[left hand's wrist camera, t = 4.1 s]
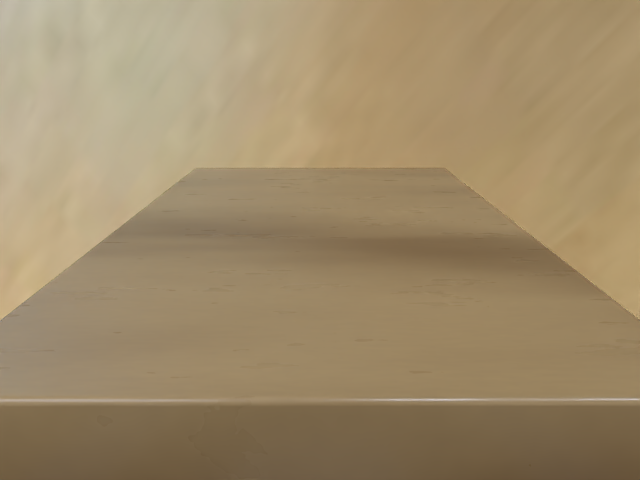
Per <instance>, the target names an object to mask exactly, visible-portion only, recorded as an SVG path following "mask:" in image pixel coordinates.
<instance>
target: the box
mask: <svg viewBox="0 0 640 480" xmlns="http://www.w3.org/2000/svg"><path fill="white" fill-rule="evenodd" d="M0 480H640V320H639V319H637V318H636V317H635V316H634V315H632V314H631V313H630V312H628V311H627V310H626V309H625V308H623V307H622V306H621V305H619V304H618V303H617V302H616V301H614V300H613V299H612V298H611V297H609V296H608V295H607V294H605V293H604V292H603V291H602V290H600V289H599V288H598V287H596V286H595V285H594V284H593V283H591V282H590V281H589V280H587V279H586V278H585V277H584V276H582V275H581V274H580V273H578V272H577V271H576V270H575V269H573V268H572V267H571V266H569V265H568V264H567V263H566V262H564V261H563V260H562V259H560V258H559V257H558V256H557V255H555V254H554V253H553V252H552V251H550V250H549V249H548V248H546V247H545V246H544V245H543V244H541V243H540V242H539V241H537V240H536V239H535V238H534V237H532V236H531V235H530V234H528V233H527V232H526V231H525V230H523V229H522V228H521V227H519V226H518V225H517V224H516V223H514V222H513V221H512V220H510V219H509V218H508V217H507V216H505V215H504V214H503V213H501V212H500V211H499V210H498V209H496V208H495V207H494V206H493V205H491V204H490V203H489V202H487V201H486V200H485V199H484V198H482V197H481V196H480V195H478V194H477V193H476V192H475V191H473V190H472V189H471V188H469V187H468V186H467V185H466V184H464V183H463V182H462V181H460V180H459V179H458V178H457V177H455V176H454V175H453V174H451V173H450V172H449V171H448V170H446V169H445V168H195V169H194V170H193V171H191V172H190V173H189V174H188V175H186V176H185V177H184V178H182V179H181V180H180V181H179V182H177V183H176V184H175V185H173V186H172V187H171V188H170V189H168V190H167V191H166V192H164V193H163V194H162V195H161V196H159V197H158V198H157V199H155V200H154V201H153V202H152V203H150V204H149V205H148V206H147V207H145V208H144V209H143V210H141V211H140V212H139V213H138V214H136V215H135V216H134V217H132V218H131V219H130V220H129V221H127V222H126V223H125V224H123V225H122V226H121V227H120V228H118V229H117V230H116V231H114V232H113V233H112V234H111V235H109V236H108V237H107V238H106V239H104V240H103V241H102V242H100V243H99V244H98V245H97V246H95V247H94V248H93V249H91V250H90V251H89V252H88V253H86V254H85V255H84V256H82V257H81V258H80V259H79V260H77V261H76V262H75V263H73V264H72V265H71V266H70V267H68V268H67V269H66V270H65V271H63V272H62V273H61V274H59V275H58V276H57V277H56V278H54V279H53V280H52V281H50V282H49V283H48V284H47V285H45V286H44V287H43V288H41V289H40V290H39V291H38V292H36V293H35V294H34V295H32V296H31V297H30V298H29V299H27V300H26V301H25V302H24V303H22V304H21V305H20V306H18V307H17V308H16V309H15V310H13V311H12V312H11V313H9V314H8V315H7V316H6V317H4V318H3V319H2V320H0Z"/></svg>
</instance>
